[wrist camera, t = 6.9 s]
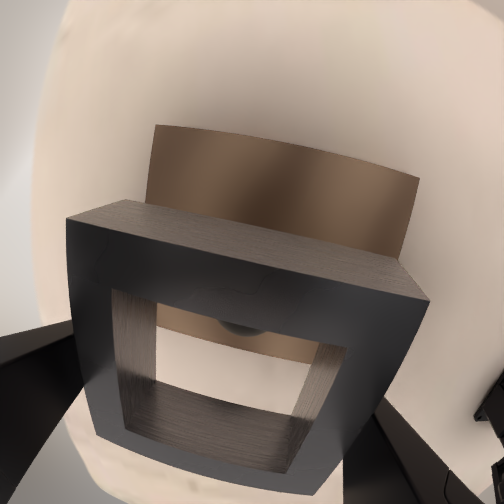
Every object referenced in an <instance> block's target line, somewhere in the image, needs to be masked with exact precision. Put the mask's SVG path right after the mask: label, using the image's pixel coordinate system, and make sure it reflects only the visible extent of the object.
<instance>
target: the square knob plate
mask: <svg viewBox="0 0 504 504" xmlns="http://www.w3.org/2000/svg"><path fill="white" fill-rule="evenodd" d="M419 180H420V178H418V177H415V176H412V175H409V174H405V173H402V172H399V171H396V170H393V169H389V168H386V167H383V166H379V165H376V164H372V163H369V162H365V161H361V160H358V159H354V158H350V157H346V156H342V155H338V154H334V153H330V152H326V151H322V150H317V149H313V148H308V147H304V146H299V145H294V144H289V143H284V142H279V141H274V140H269V139H263V138H257V137H252V136H246V135H239V134H233V133H226V132H219V131H212V130H204V129H195V128H187V127H177V126H166V125H156V126H155V132H154V138H153V145H152V151H151V159H150V166H149V174H148V182H147V191H146V200H145V203H146V204H151V205H157V206H162V207H167V208H172V209H177V210H182V211H187V212H192V213H197V214H202V215H207V216H211V217H216V218H221V219H226V220H231V221H235V222H240V223H245V224H249V225H254V226H259V227H263V228H268V229H272V230H277V231H282V232H286V233H291V234H295V235H299V236H304V237H308V238H313V239H317V240H321V241H326V242H330V243H334V244H338V245H343V246H347V247H351V248H355V249H360V250H364V251H368V252H372V253H376V254H380V255H384V256H388V257H392V258H395V259H396V260H397V261H398V258H399V254H400V251H401V248H402V245H403V241H404V238H405V235H406V231H407V227H408V224H409V220H410V217H411V213H412V209H413V205H414V201H415V197H416V193H417V188H418V184H419ZM156 326H159V327H162V328H166V329H169V330H172V331H175V332H179V333H182V334H186V335H189V336H193V337H196V338H200V339H203V340H207V341H211V342H215V343H218V344H222V345H226V346H230V347H234V348H238V349H242V350H246V351H250V352H255V353H259V354H263V355H268V356H272V357H277V358H282V359H287V360H291V361H296V362H301V363H307V364H312V362H313V359H314V357H315V354H316V351H317V348H318V346H319V343H320V342H315V341H310V340H305V339H300V338H296V337H291V336H286V335H282V334H277V333H273V332H268V331H264V330H259V329H255V328H251V327H247V326H243V325H238V324H234V323H230V322H226V321H222V320H219V319H215V318H211V317H207V316H203V315H200V314H196V313H192V312H189V311H185V310H181V309H178V308H174V307H171V306H167V305H164V304H161V303H157V323H156Z"/></svg>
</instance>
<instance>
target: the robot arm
mask: <svg viewBox="0 0 504 504" xmlns="http://www.w3.org/2000/svg"><path fill="white" fill-rule="evenodd" d="M83 387H84V383H83V378H82V373H81V369H80V363H79V358H78V352H77V347H76V340H75V336H74V332H73V324H72V320H68V321H64V322H60V323H56V324H52V325H48V326H44V327H40V328H36V329H32V330H28V331H23V332H19V333H15V334H11V335H7V336H2V337H0V504H7V503H8V501H9V500H10V498H11V496H12V495H13V493H14V491H15V489H16V487H17V486H18V484H19V483H20V481H21V479H22V478H23V476H24V475H25V473H26V471H27V470H28V468H29V467H30V465H31V463H32V462H33V460H34V459H35V457H36V456H37V454H38V452H39V451H40V450H41V448H42V447H43V445H44V443H45V442H46V440H47V439H48V438H49V436H50V435H51V433H52V432H53V430H54V429H55V427H56V426H57V424H58V423H59V421H60V420H61V418H62V417H63V416H64V414H65V413H66V411H67V410H68V408H69V407H70V406H71V404H72V403H73V401H74V400H75V398H76V397H77V396H78V394H79V393H80V391H81V390H82V388H83ZM474 420H475V421H476V422H478V421H489V422H490V424H491V426H492V428H493V430H494V432H495V434H496V436H497V438H499V439H500V441H501V443H502V446H503V448H504V372H503V374H502V376H501V377H500V379H499V380H498V382H497V384H496V385H495V387H494V388H493V390H492V391H491V393H490V394H489V396H488V397H487V399H486V400H485V401H484V403H483V404H482V406H481V407H480V409H479V410H478V411H477V413H476V414H475V415H474ZM491 468H492V478H493V484H494V490H495V497H496V504H504V457H503V458H502V459H501V460H499V461H498V462H496V463H495V464H493V465H492V466H491ZM343 504H485V503H483V502H482V501H481V500H480V499H479V498H478V497H477V496H476V495H475V494H474V493H473V492H471V491H470V490H469V489H468V488H467V487H466V485H465V484H464V483H463V482H462V481H461V480H460V479H459V478H458V477H457V476H456V475H455V474H454V473H453V472H452V471H451V470H449V467H448V466H447V465H446V464H445V463H444V462H443V461H442V460H441V459H440V457H439V456H438V455H437V454H436V453H435V452H434V451H433V450H432V449H431V448H430V446H429V445H428V444H427V443H426V442H425V441H424V440H423V439H422V438H421V437H420V436H419V434H418V433H417V432H416V431H415V430H414V429H413V428H412V427H411V426H410V425H409V423H408V422H407V421H406V420H405V419H404V418H403V417H402V416H401V415H400V414H399V412H398V411H397V410H396V409H395V408H394V407H393V406H392V405H391V404H390V403H389V401H388V400H387V399H386V398H385V397H384V396H383V398H382V400H381V401H380V403H379V405H378V406H377V408H376V410H375V411H374V413H373V414H372V415H371V416H370V418H369V419H368V421H367V422H366V424H365V425H364V427H363V429H362V430H361V432H360V433H359V435H358V436H357V438H356V439H355V440H354V442H353V443H352V445H351V446H350V448H349V449H348V450H347V452H346V453H345V455H344V456H343Z"/></svg>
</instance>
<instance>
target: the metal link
mask: <svg viewBox="0 0 504 504" xmlns="http://www.w3.org/2000/svg"><path fill="white" fill-rule="evenodd" d="M66 255H67V274H68V288H69V299H70V308H71V317H72V324H73V332H74V336H75V340H76V347H77V352H78V358H79V363H80V369H81V373H82V378H83V383H84V390H85V394H86V398H87V402H88V406H89V410H90V414H91V417H92V421H93V424H94V428H95V431H96V435H98V436H100V437H102V438H104V439H106V440H108V441H110V442H112V443H115V444H117V445H119V446H121V447H124V448H126V449H128V450H131V451H133V452H135V453H138V454H140V455H143V456H145V457H148V458H151V459H153V460H156V461H159V462H162V463H164V464H167V465H170V466H173V467H176V468H179V469H182V470H185V471H189V472H192V473H195V474H199V475H202V476H206V477H210V478H213V479H217V480H221V481H225V482H230V483H234V484H239V485H243V486H248V487H254V488H259V489H265V490H271V491H277V492H284V493H292V494H301V495H311V496H313V495H314V494H315V493H316V492H317V490H318V489H319V488H320V487H321V486H322V484H323V483H324V482H325V481H326V479H327V478H328V477H329V476H330V474H331V473H332V472H333V471H334V469H335V468H336V467H337V465H338V464H339V463H340V461H341V460H342V459H343V456H344V455H345V453H346V452H347V450H348V449H349V448H350V446H351V445H352V443H353V442H354V440H355V439H356V438H357V436H358V435H359V433H360V432H361V430H362V429H363V427H364V425H365V424H366V422H367V421H368V419H369V418H370V416H371V415H372V414H373V413H374V411H375V410H376V408H377V406H378V405H379V403H380V401H381V400H382V398H383V396H384V395H385V393H386V391H387V389H388V388H389V386H390V384H391V382H392V381H393V379H394V377H395V375H396V373H397V371H398V369H399V368H400V366H401V364H402V362H403V360H404V358H405V356H406V354H407V352H408V350H409V348H410V346H411V344H412V342H413V340H414V337H415V335H416V333H417V331H418V329H419V327H420V324H421V322H422V320H423V318H424V315H425V313H426V310H427V308H428V306H429V303H430V300H429V299H428V298H427V296H426V295H425V294H424V293H423V291H422V290H421V289H420V288H419V286H418V285H417V284H416V283H415V281H414V280H413V279H412V278H411V277H410V275H409V274H408V273H407V272H406V271H405V269H404V268H403V267H402V266H401V265H400V263H399V262H398V261H397V260H396V259H395V258H392V257H388V256H384V255H380V254H376V253H372V252H368V251H364V250H360V249H355V248H351V247H347V246H343V245H338V244H334V243H330V242H326V241H321V240H317V239H313V238H308V237H304V236H299V235H295V234H291V233H286V232H282V231H277V230H272V229H268V228H263V227H259V226H254V225H249V224H245V223H240V222H235V221H231V220H226V219H221V218H216V217H211V216H207V215H202V214H197V213H192V212H187V211H182V210H177V209H172V208H167V207H162V206H157V205H151V204H146V203H141V202H136V201H130V200H122V201H119V202H115V203H112V204H109V205H105V206H102V207H99V208H96V209H92V210H89V211H86V212H83V213H80V214H77V215H74V216H71V217H68V218H66ZM157 303H161V304H164V305H167V306H171V307H174V308H178V309H181V310H185V311H189V312H192V313H196V314H200V315H203V316H207V317H211V318H215V319H219V320H222V321H226V322H230V323H234V324H238V325H243V326H247V327H251V328H255V329H259V330H264V331H268V332H273V333H277V334H282V335H286V336H291V337H296V338H300V339H305V340H310V341H315V342H320V343H319V346H318V348H317V351H316V354H315V357H314V359H313V362H312V365H311V367H310V370H309V373H308V375H307V378H306V380H305V383H304V385H303V388H302V390H301V393H300V395H299V398H298V400H297V403H296V405H295V407H294V410H293V412H292V415H285V414H280V413H275V412H270V411H265V410H260V409H256V408H251V407H247V406H243V405H238V404H234V403H230V402H226V401H223V400H219V399H215V398H211V397H208V396H204V395H201V394H197V393H194V392H191V391H187V390H184V389H181V388H178V387H175V386H172V385H169V384H166V383H163V382H160V381H157V380H156V323H157Z"/></svg>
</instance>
